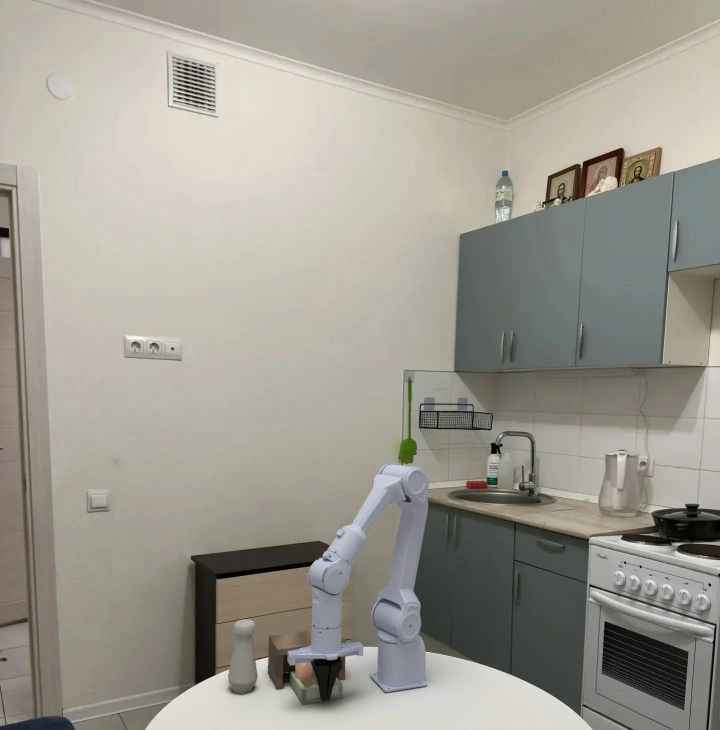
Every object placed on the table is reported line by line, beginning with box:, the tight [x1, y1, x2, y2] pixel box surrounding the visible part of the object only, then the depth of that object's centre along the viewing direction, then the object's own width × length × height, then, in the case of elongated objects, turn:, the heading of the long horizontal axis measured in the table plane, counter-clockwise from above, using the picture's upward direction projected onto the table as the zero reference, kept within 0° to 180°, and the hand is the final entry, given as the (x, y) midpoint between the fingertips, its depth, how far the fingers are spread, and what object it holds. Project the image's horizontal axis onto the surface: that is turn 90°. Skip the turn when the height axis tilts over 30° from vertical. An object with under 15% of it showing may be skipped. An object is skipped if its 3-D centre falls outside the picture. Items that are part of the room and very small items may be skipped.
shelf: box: [267, 630, 347, 691], centre depth 126 cm, size 14×8×8 cm, turn 111°
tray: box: [289, 661, 343, 705], centre depth 119 cm, size 8×9×5 cm
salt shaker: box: [227, 618, 258, 694], centre depth 120 cm, size 6×6×13 cm
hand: (325, 698), depth 114 cm, fingers closed, pressing on tray
